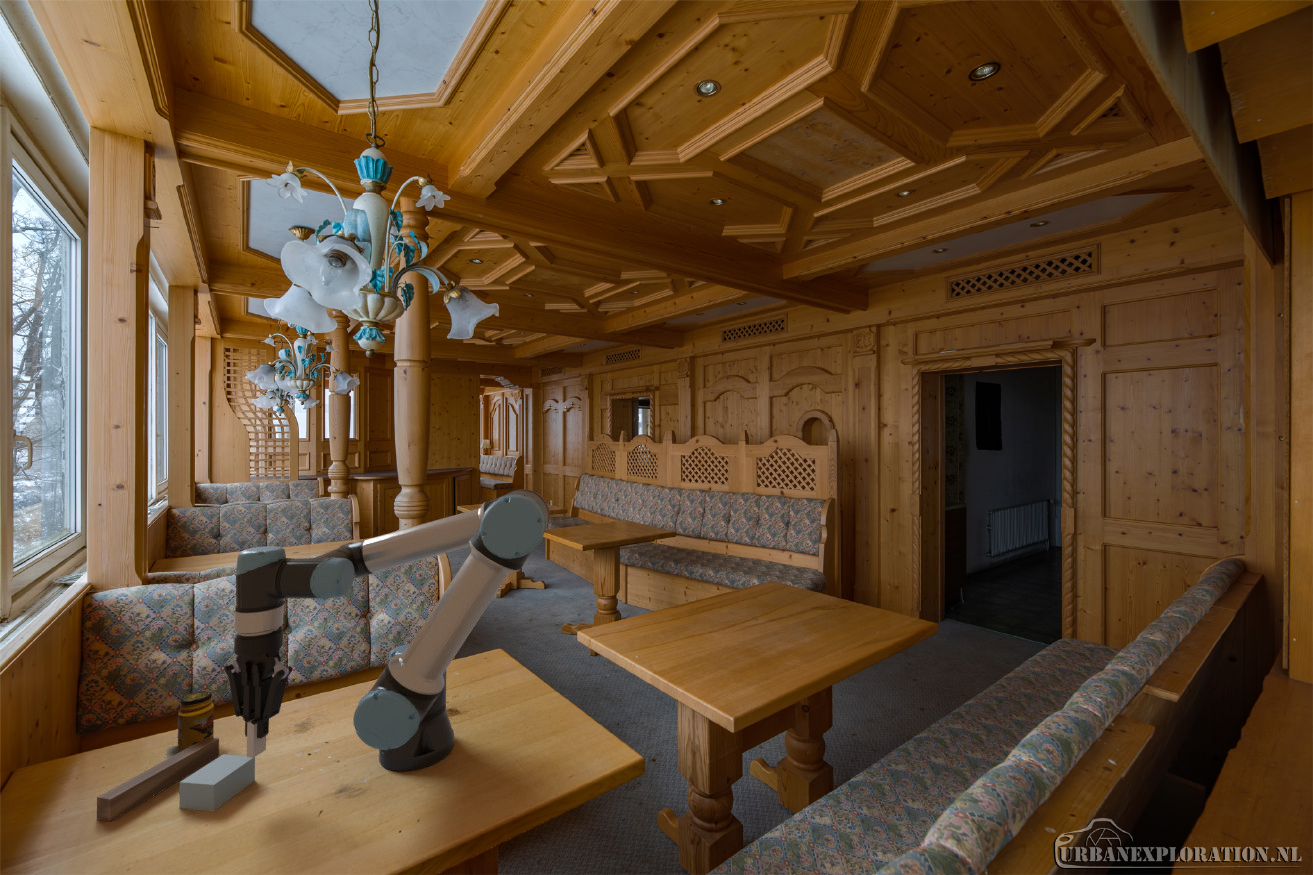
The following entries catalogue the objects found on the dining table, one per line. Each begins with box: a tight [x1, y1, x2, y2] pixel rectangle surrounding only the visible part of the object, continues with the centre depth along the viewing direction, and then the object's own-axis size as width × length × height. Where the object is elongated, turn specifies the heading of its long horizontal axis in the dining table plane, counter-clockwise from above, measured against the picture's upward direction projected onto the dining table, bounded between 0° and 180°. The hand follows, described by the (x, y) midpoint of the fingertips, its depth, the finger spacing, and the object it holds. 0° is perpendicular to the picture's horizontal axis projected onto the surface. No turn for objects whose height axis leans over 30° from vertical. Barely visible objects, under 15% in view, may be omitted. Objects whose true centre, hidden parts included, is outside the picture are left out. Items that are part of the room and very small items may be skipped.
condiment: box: [162, 690, 218, 762], centre depth 119 cm, size 7×8×12 cm
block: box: [179, 753, 256, 812], centre depth 105 cm, size 7×9×5 cm
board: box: [96, 737, 220, 823], centre depth 107 cm, size 3×20×4 cm, turn 170°
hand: (256, 753), depth 103 cm, fingers closed
